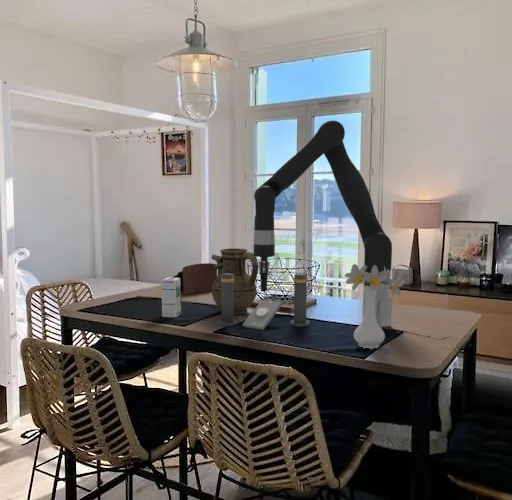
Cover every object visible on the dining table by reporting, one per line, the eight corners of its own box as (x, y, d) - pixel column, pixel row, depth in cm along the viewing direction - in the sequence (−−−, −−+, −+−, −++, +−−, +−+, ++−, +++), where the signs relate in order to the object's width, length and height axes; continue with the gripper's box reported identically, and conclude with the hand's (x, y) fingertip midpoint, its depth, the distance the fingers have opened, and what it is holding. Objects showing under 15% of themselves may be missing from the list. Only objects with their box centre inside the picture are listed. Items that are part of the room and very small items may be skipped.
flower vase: (395, 356, 153) (397, 270, 151) (335, 347, 162) (336, 265, 160) (407, 345, 164) (410, 265, 162) (350, 337, 174) (352, 261, 171)
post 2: (313, 325, 190) (314, 275, 189) (298, 327, 186) (299, 276, 185) (301, 321, 196) (301, 272, 194) (286, 323, 192) (286, 274, 190)
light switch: (241, 322, 187) (261, 297, 197) (246, 335, 190) (265, 309, 199) (261, 325, 182) (281, 299, 192) (266, 338, 185) (285, 312, 195)
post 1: (241, 324, 191) (241, 274, 189) (224, 327, 187) (224, 276, 185) (230, 320, 197) (230, 272, 195) (214, 323, 192) (214, 273, 191)
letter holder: (217, 290, 260) (217, 262, 258) (183, 295, 247) (183, 265, 245) (205, 288, 267) (205, 260, 266) (171, 292, 254) (171, 263, 253)
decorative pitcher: (269, 312, 211) (270, 249, 209) (243, 320, 197) (243, 253, 194) (226, 305, 224) (226, 246, 221) (199, 313, 209) (198, 249, 207)
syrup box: (176, 317, 201) (175, 279, 199) (161, 317, 202) (161, 279, 201) (181, 314, 206) (181, 277, 205) (167, 313, 208) (166, 276, 206)
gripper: (275, 244, 182) (274, 294, 184) (274, 241, 195) (274, 288, 197) (253, 244, 182) (252, 294, 184) (254, 241, 195) (253, 287, 197)
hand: (263, 291), depth 190 cm, fingers closed
